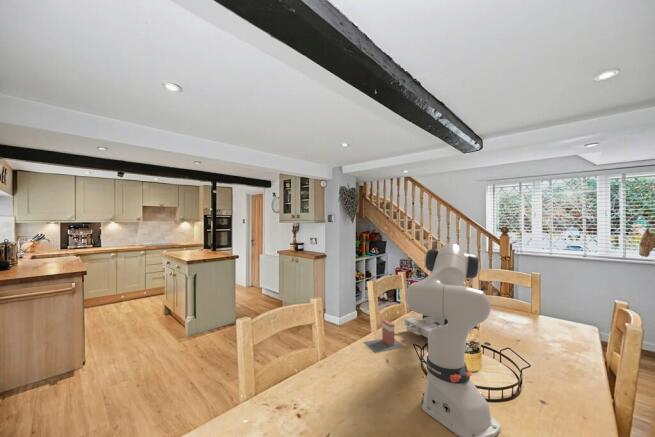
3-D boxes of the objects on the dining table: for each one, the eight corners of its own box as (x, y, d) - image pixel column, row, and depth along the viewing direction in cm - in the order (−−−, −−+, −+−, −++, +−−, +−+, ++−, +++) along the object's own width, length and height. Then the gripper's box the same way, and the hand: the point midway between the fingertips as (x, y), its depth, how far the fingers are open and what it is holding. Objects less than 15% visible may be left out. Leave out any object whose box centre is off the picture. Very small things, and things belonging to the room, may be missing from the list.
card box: (394, 345, 128) (394, 324, 129) (390, 346, 128) (390, 325, 128) (386, 339, 135) (386, 319, 135) (382, 340, 134) (382, 320, 135)
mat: (406, 347, 127) (406, 347, 127) (375, 353, 121) (375, 352, 121) (392, 338, 138) (392, 337, 138) (363, 342, 132) (363, 342, 132)
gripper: (416, 313, 150) (396, 316, 145) (444, 326, 131) (421, 330, 126) (416, 325, 150) (396, 328, 145) (444, 339, 131) (421, 343, 126)
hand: (408, 329), depth 136 cm, fingers closed
